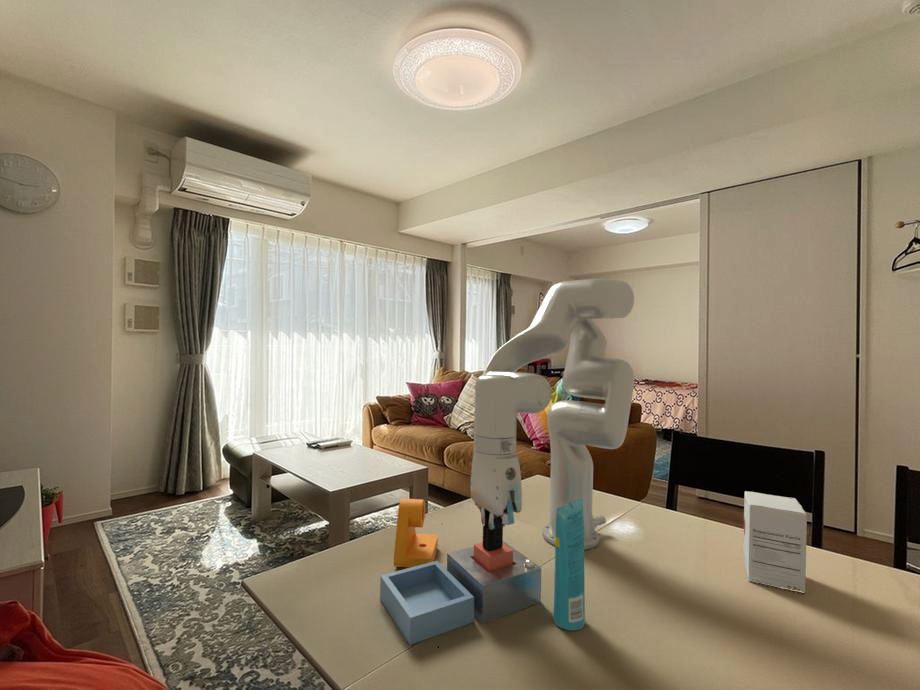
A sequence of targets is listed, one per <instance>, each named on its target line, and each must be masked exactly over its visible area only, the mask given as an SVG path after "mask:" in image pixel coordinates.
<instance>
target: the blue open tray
mask: <svg viewBox="0 0 920 690" xmlns="http://www.w3.org/2000/svg"><path fill="white" fill-rule="evenodd" d="M379 576H380V580H379V581H380V582H379V583H380V584H379V587H380V588H379V590H380V591H379V599H380V601H381V602H382V604H383V606H384V607H385V609H386V610H387V612H388V613H389V615H390V616H391V618H392V620H393V621H394V622H395V625H396V626H397V627H398V629H399V631H400V632H401V633H402V636H403V637H404V638H405V640H406V641H407V643H408V645H409V646H412V645H413V644H416V643H419V642H422V641H426V640H428V639H431V638H433V637H436V636H439V635H442V634H445V633H447V632H451V631H453V630H456V629H459V628H462V627H464V626H466V625H469V624H473V623H474V621H475V619H474V617H475V616H474V596H473V595H471V594H470V593H469V592H468V591H467V590H466V589H465V588H464V587H463V586H462V585H461V584H460V583H459V582H458V581H457V580H456V579H455V578H454V577H453V576H452V575H451V574H450V573H449V572H448V571H447V568H445V567H444V565H443V564H441V562H439V561H438V560H434V562H430V563H426V564H422V565H419V566H415V567H411V568H410V567H406V568H404V569H401V570H397V571H392V572H390V573H389V572H388V573H384V574H381V575H379Z"/></svg>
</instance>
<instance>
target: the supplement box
mask: <svg viewBox="0 0 920 690" xmlns="http://www.w3.org/2000/svg"><path fill="white" fill-rule="evenodd" d="M743 498H744V499H743V500H744V501H743V503H744V504H743V505H744V506H743V507H744V508H743V510H744V511H743V557H742V560H744V562H743V566H744V565H745V566H744V569H746V570H745V574H746V573H747V574H746V578H747V577H748V578H747V581H748V580H751V581H755V582H759V583H764V584H769V585H773V586H776V587H777V586H778V587H783V588H788V589H792V590H797V591H802V592H805V593H806V573H807V572H806V570H807V569H806V567H807V535H808V534H807V531H808V530H807V528H808V527H807V526H808V525H807V524H808V523H807V522H808V514H807V513H806V511H805V510H804V509H803V506H802V505H801V504H800V502H799V501H798V500H797V498H795V497H787V496H781V495H773V494H766V493H761V492H755V491H746V490H745V491H744V496H743Z"/></svg>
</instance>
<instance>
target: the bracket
mask: <svg viewBox="0 0 920 690" xmlns="http://www.w3.org/2000/svg"><path fill="white" fill-rule="evenodd" d="M425 516H426V500H425V499H420V498H419V499H418V498H405V497H404V498H401V499H400V501H399V505H398V510H397V521H396V528H395V529H396V530H395V542H394V551H393V567H396V568H397V567H399V568H400V567H401V568H411V567H415V566H419V565H422V564H426V563H430V562H434V561H435V559H436V555H437V549H438V546H439V541H438V540H439V536H438V535H437V534H435V533H434V534H432V533H417V532H416V528H421V529H422V528H423V526H424V523H425Z"/></svg>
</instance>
